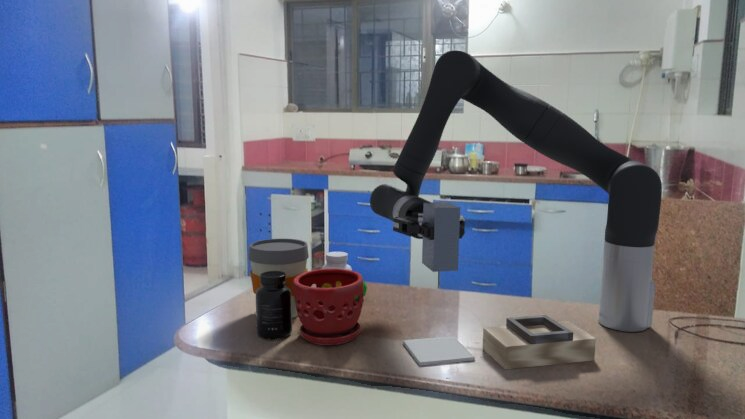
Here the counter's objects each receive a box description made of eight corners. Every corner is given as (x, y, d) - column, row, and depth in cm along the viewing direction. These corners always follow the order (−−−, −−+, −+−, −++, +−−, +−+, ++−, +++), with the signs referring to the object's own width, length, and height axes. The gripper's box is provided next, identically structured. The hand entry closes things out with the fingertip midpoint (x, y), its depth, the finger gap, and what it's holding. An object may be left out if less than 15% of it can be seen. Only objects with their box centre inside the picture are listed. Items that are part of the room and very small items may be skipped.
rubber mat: (453, 339, 110) (453, 335, 109) (474, 360, 100) (474, 357, 100) (403, 343, 107) (403, 340, 107) (419, 365, 98) (419, 362, 98)
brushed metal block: (445, 261, 105) (447, 202, 103) (457, 270, 99) (460, 207, 97) (421, 263, 104) (423, 202, 102) (433, 271, 98) (435, 208, 96)
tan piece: (565, 341, 109) (567, 313, 108) (594, 360, 100) (596, 330, 100) (482, 348, 105) (483, 319, 104) (505, 369, 96) (506, 338, 96)
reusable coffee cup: (321, 310, 125) (320, 242, 123) (282, 327, 115) (281, 254, 112) (277, 300, 132) (276, 235, 130) (237, 315, 122) (235, 246, 119)
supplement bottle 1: (258, 327, 115) (257, 269, 113) (293, 327, 115) (292, 268, 113) (254, 340, 108) (253, 278, 106) (291, 340, 108) (290, 278, 106)
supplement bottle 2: (347, 318, 120) (347, 258, 118) (317, 315, 122) (317, 256, 120) (355, 308, 127) (355, 251, 125) (326, 305, 128) (325, 249, 126)
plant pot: (306, 322, 118) (306, 265, 116) (369, 328, 115) (370, 269, 113) (284, 347, 105) (283, 283, 103) (354, 353, 102) (354, 288, 100)
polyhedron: (370, 297, 135) (370, 277, 134) (361, 303, 130) (361, 283, 129) (351, 294, 137) (351, 275, 136) (341, 300, 132) (341, 280, 131)
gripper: (381, 198, 112) (406, 212, 95) (450, 196, 115) (486, 210, 98) (380, 236, 113) (405, 257, 96) (449, 233, 116) (484, 253, 100)
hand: (446, 233), depth 98 cm, fingers closed on brushed metal block, 4 cm apart
